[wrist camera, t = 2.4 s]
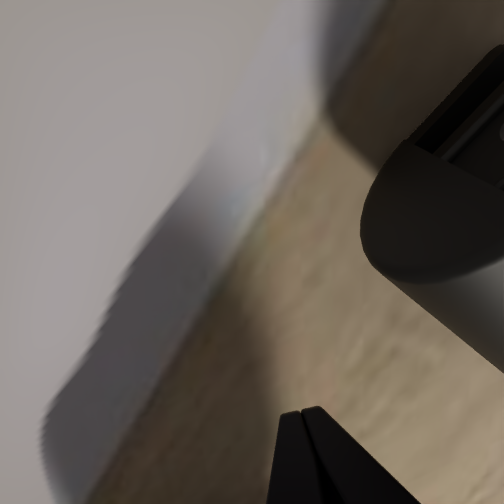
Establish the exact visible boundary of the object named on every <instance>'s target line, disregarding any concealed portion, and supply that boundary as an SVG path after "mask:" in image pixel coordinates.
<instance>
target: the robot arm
mask: <svg viewBox="0 0 504 504" xmlns="http://www.w3.org/2000/svg"><path fill="white" fill-rule="evenodd" d="M266 504H421V503H420V502H419V501H418V500H417V499H416V498H415V497H414V496H413V495H412V494H410V493H409V492H408V491H407V490H406V489H405V488H404V487H403V486H402V485H401V484H400V483H399V482H398V481H397V480H396V479H395V478H394V477H393V476H392V475H391V474H390V473H389V472H388V471H387V470H386V469H385V468H384V467H383V466H382V465H381V464H380V463H379V462H378V461H377V460H375V459H374V458H373V457H372V456H371V455H370V454H369V453H368V452H367V451H366V450H365V449H364V448H363V447H362V446H361V445H360V444H359V443H358V442H357V441H356V440H355V439H354V438H353V437H352V436H351V435H350V434H349V433H348V432H347V431H346V430H345V429H344V428H343V427H342V426H340V425H339V424H338V423H337V422H336V421H335V420H334V419H333V418H332V417H331V416H330V415H329V414H328V413H327V412H326V411H325V410H324V409H323V408H322V407H320V406H314V407H310V408H305V409H303V410H302V411H301V413H300V411H292V412H288V413H283V414H282V415H281V416H280V420H279V426H278V432H277V439H276V445H275V451H274V457H273V464H272V470H271V476H270V482H269V489H268V495H267V501H266Z"/></svg>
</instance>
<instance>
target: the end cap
mask: <svg viewBox="0 0 504 504" xmlns="http://www.w3.org/2000/svg"><path fill="white" fill-rule="evenodd" d="M360 237H361V242H362V247H363V251H364V253H365V255H366V256H367V258H368V260H369V262H370V263H371V265H372V266H373V267H374V268H375V269H376V270H378V271H379V272H380V273H381V274H382V275H383V276H384V277H386V278H387V279H388V280H389V281H391V282H392V283H393V284H394V285H395V286H397V287H398V288H399V289H400V290H402V291H403V292H404V293H405V294H407V295H408V296H409V297H410V298H411V299H413V300H414V301H415V302H416V303H418V304H419V305H420V306H421V307H423V308H424V309H425V310H426V311H427V312H429V313H430V314H431V315H432V316H434V317H435V318H436V319H437V320H439V321H440V322H441V323H442V324H443V325H445V326H446V327H447V328H448V329H450V330H451V331H452V332H453V333H455V334H456V335H457V336H458V337H459V338H461V339H462V340H463V341H464V342H466V343H467V344H468V345H469V346H471V347H472V348H473V349H474V350H475V351H477V352H478V353H479V354H480V355H482V356H483V357H484V358H485V359H486V360H488V361H489V362H490V363H491V364H493V365H494V366H495V367H496V368H498V369H499V370H500V371H501V372H502V373H504V44H503V45H499V46H497V47H496V48H494V49H493V50H491V51H490V52H489V53H488V54H487V55H486V56H485V57H484V58H483V59H482V60H481V61H480V62H479V63H478V64H477V65H476V66H475V68H474V69H473V70H472V71H471V72H470V73H469V74H468V75H467V76H466V77H465V78H464V79H463V80H462V81H461V82H460V83H459V85H458V86H457V87H456V88H455V89H454V90H453V91H452V92H451V93H450V94H449V95H448V96H447V97H446V98H445V99H444V100H443V102H442V103H441V104H440V105H439V106H438V107H437V108H436V109H435V110H434V111H433V112H432V113H431V114H430V115H429V116H428V117H427V119H426V120H425V121H424V122H423V123H422V124H421V125H420V126H419V127H418V128H417V129H416V130H415V131H414V132H413V133H412V134H411V136H410V137H409V138H408V139H407V140H404V141H403V142H402V143H401V144H400V145H399V146H398V148H397V149H396V150H395V151H394V152H393V153H392V155H391V156H390V157H389V159H388V160H387V161H386V163H385V164H384V166H383V167H382V169H381V170H380V171H379V173H378V175H377V177H376V179H375V180H374V182H373V184H372V186H371V188H370V190H369V193H368V195H367V198H366V200H365V203H364V207H363V211H362V215H361V220H360Z"/></svg>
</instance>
